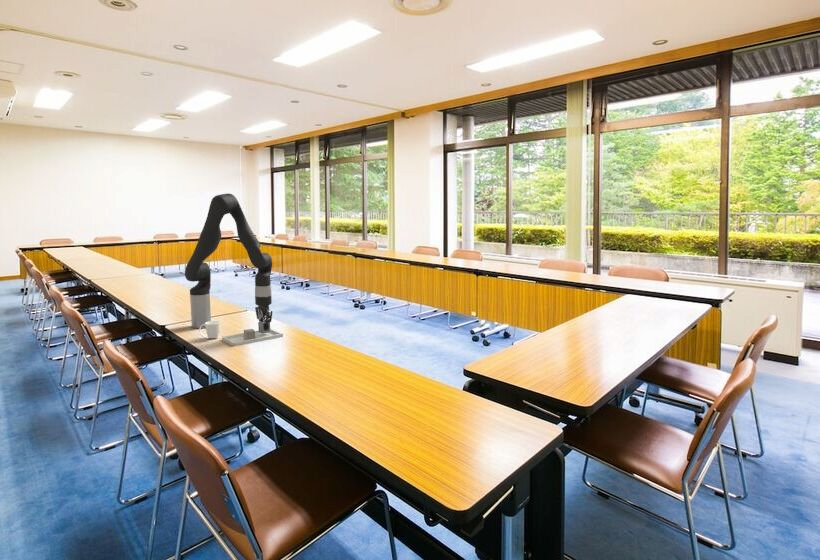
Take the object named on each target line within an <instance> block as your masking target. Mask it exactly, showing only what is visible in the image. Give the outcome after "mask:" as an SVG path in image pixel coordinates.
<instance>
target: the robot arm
mask: <svg viewBox="0 0 820 560" xmlns="http://www.w3.org/2000/svg"><path fill="white" fill-rule="evenodd" d="M228 214H230V216H231V217H232V219H233V220H234V222H235V226H236V231H237V232H236V233H237V236H238V239H239V241H240V243H241V245H242V246H243V247H244V249H245V250H246V253H247V256H248V258H249V261H250V262H251V264H252V266H253V267H254V268H256V269H257V273H256V274H255V276H254V286H255V287H254V303H255V305H256V306H255V315H256V316H255V317H256V319H257V320H258V322H262V321H264V330H265V331H267V330H269V322H270V323H271V322H272V320H273V319H272V318H273V311H272V310H270V305H272V301H273V300H272V284H271V273H272V269H273V259H272V256H271V255H270V254H269V253H268V252H262V250H261V243H260V241H259V239H258V238H257V236H256V234H254V232H253V230H252V228H251V227H250V225H249V223H248V221H247V218H246V215H245V214H244V211H243V209H242V207H241V205H240V203H239V200H238V198H237V197H236V196H235V195H234V194H232V193H222V194H217V195H214V196H213V197H212V199H211V201H210V204H209V207H208V212H207V217H206V218H205V219H206V220H205V221H204V225H203V227H202V230H201V232H200V235H199V237H198V240H197V244H196V246H195V248H194V250H193V253H192V255H191V257H190V259H189V260H188V262H187V264H186V266H185V269H184V277H185V279H186V280H187V281H188V282H197V284H196V285H194V286H192V287H191V288H190V289H189V299H190V317H191V319H190V320H191V328H192V329H200V326H201V325H202V327H201V329H206V327H205V326H204V325H203V324H205V322H209V321H212V315H211V314H212V313H211V292H210V290H211V278H212V277H211V275H212V274H211V267H210V265H209V263H207V262H204V261H206V259H207V258H209V256H211V255H212V254H213V253H214V252H216V250H217V249H218V247H219V244H220V242H221V240H222V231H221V222H222V220H223V218H224V217H225V215H228Z"/></svg>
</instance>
